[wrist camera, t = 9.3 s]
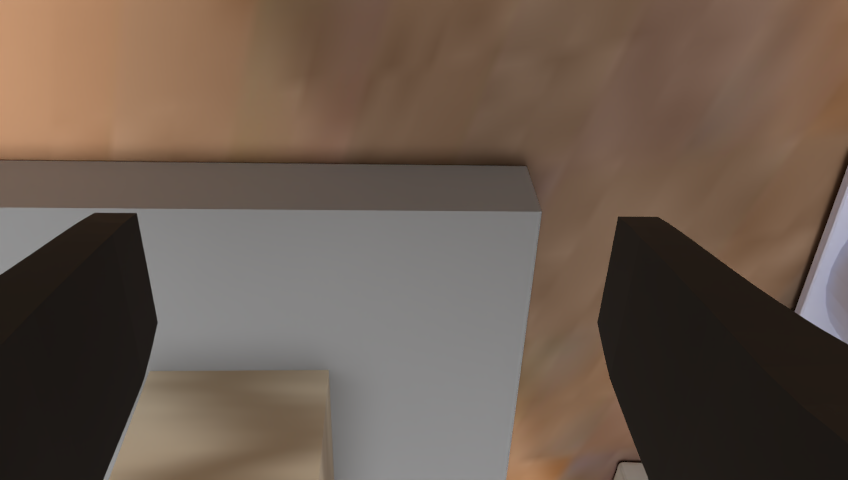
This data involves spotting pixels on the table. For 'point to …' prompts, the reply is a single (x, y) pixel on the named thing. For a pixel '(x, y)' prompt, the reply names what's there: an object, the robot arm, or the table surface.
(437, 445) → the slate plinth
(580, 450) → the table surface
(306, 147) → the table surface
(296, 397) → the maple block
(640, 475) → the small box
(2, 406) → the robot arm
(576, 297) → the table surface
